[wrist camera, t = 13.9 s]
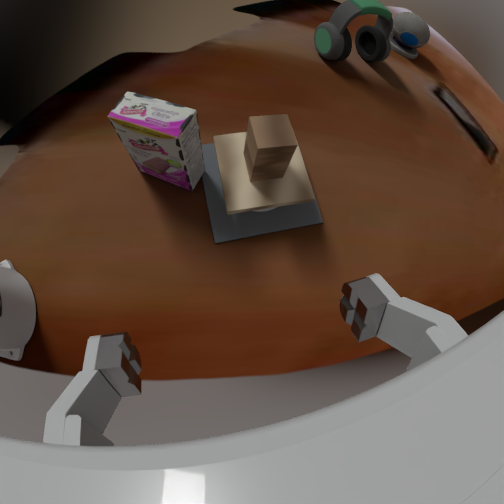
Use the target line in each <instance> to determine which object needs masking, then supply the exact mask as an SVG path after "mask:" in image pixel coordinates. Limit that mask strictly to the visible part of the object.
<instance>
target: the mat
mask: <svg viewBox="0 0 504 504" xmlns="http://www.w3.org/2000/svg"><path fill="white" fill-rule="evenodd" d="M201 146H202V153H203V159H204V166H205V171H204V173H203V174H202V179H203V184H204V190H205V195H206V200H207V205H208V210H209V216H210V221H211V226H212V230H213V235H214V240H215V244H216V243H221V242H226V241H231V240H236V239H241V238H246V237H251V236H256V235H262V234H267V233H272V232H277V231H282V230H287V229H293V228H298V227H303V226H308V225H314V224H319V223H323V221H322V218H321V214H320V211H319V208H318V204H317V201H316V198H315V199H314V200H313V202H307V203H300V204H293V205H286V206H279V207H277V208H275V209H273V210H270V211H266V212H254V211H247V212H240V213H234V214H228V215H227V210H226V205H225V200H224V195H223V189H222V184H221V179H220V174H219V168H218V163H217V158H216V152H215V147H214V143H212V144H206V145H201ZM309 181H310V180H309ZM310 184H311V183H310ZM311 187H312V186H311ZM312 191H313V189H312ZM313 194H314V192H313ZM314 197H315V195H314Z"/></svg>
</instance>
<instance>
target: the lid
mask: <svg viewBox="0 0 504 504" xmlns="http://www.w3.org/2000/svg"><path fill="white" fill-rule="evenodd" d="M213 141H214V147H215V152H216V158H217V163H218V168H219V174H220V179H221V184H222V189H223V195H224V200H225V205H226V210H227V215H228V214H234V213H240V212H247V211H253V210H259V209H266V208H272V207H279V206H286V205H293V204H300V203H307V202H313V200H314V199H315V197H314V194H313V191H312V187H311V184H310V181H309V177H308V174H307V171H306V168H305V165H304V162H303V159H302V155H301V152H300V149H299V146H298V143H297V141H296V138H295V135H294V132H293V129H292V127H291V124H290V121H289V118H288V115H287V114H282V115H266V116H254V117H249V121H248V127H247V132H242V133H234V134H226V135H218V136H213Z"/></svg>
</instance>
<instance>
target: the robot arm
mask: <svg viewBox="0 0 504 504" xmlns="http://www.w3.org/2000/svg"><path fill="white" fill-rule="evenodd" d="M342 292H343V294H344V296H343V297H342V298H341V300H340V312H341V315H342V317H343V319H344V321H345V322H346V323H348V324H350V325H352V326H351V331H352V333H353V334H354V336H355V337H356V339H357V340H358V342H360V341H363V340H366V339H369V338H372V337H375V336H377V337H378V338H380V339H381V340H383V341H385V342H386V343H388V344H390V345H391V346H393V347H395V348H396V349H398V350H400V351H401V352H403V353H405V354H406V355H408V356H410V357H411V358H412V359H411V361H410V363H409V365H408V367H407V372H406V373H403V374H401V375H399V376H397V377H395V378H393V379H391V380H389V381H387V382H385V383H383V384H381V385H378V386H376V387H374V388H372V389H369V390H367V391H365V392H362V393H360V394H358V395H355V396H353V397H350V398H348V399H345V400H342V401H340V402H337V403H334V404H332V405H329V406H326V407H324V408H321V409H318V410H315V411H312V412H309V413H306V414H302V415H299V416H296V417H293V418H289V419H286V420H283V421H279V422H276V423H272V424H268V425H264V426H260V427H256V428H252V429H248V430H243V431H238V432H234V433H229V434H224V435H218V436H213V437H208V438H202V439H194V440H187V441H179V442H171V443H161V444H149V445H133V446H114V444H113V443H112V442H111V441H110V440H109V439H107V438H106V437H105V436H103V435H102V434H103V432H104V430H105V428H106V426H107V424H108V422H109V421H110V419H111V417H112V415H113V413H114V411H115V409H116V407H117V406H118V404H119V402H120V400H121V397H125V396H133V395H140V394H141V378H140V377H139V375H138V374H139V372H140V371H141V359H140V355H139V352H138V350H137V348H136V346H134V345H133V344H131V337H130V336H129V334H128V332H120V333H112V334H104V335H99V336H90V338H89V339H88V343H87V348H86V353H85V358H84V364H83V370H82V371H81V372H78V374H77V375H76V376H75V377H74V379H73V380H72V381H71V383H70V384H69V385H68V386H67V388H66V389H65V390H64V391H63V393H62V394H61V395H60V397H59V398H58V399H57V400H56V402H55V403H54V405H53V406H52V407H51V408H50V410H49V411H48V412H47V414H46V422H45V429H44V437H43V438H44V439H43V443H42V442H34V441H27V440H20V439H14V438H9V437H4V436H0V504H504V311H502V312H501V313H500V314H498V315H497V316H496V317H495V318H493V319H492V320H490V321H489V322H488V323H486V324H485V325H484V326H482V327H481V328H479V329H478V330H476V331H475V332H473V333H472V334H471V335H469V336H468V335H467V334H466V332H465V331H464V330H463V329H462V328H461V327H460V326H459V324H458V323H457V322H456V321H455V320H454V319H453V318H452V317H451V316H450V315H447V314H445V313H443V312H440V311H438V310H435V309H433V308H430V307H428V306H425V305H423V304H420V303H418V302H415V301H413V300H410V299H408V298H405V297H402V298H401V297H400V296H399V295H398V294H397V293H396V292H395V291H394V290H393V289H392V287H391V286H390V285H389V284H388V283H387V282H386V281H385V280H384V279H383V278H382V276H381V275H379V274H377V273H376V274H373V275H370V276H367V277H363V278H360V279H357V280H353V281H350V282H346V283H344V285H343V286H342ZM35 321H36V305H35V299H34V295H33V292H32V289H31V287H30V285H29V283H28V282H27V280H26V279H25V278H24V277H23V276H22V275H21V274H19V273H18V272H17V271H16V270H15V269H14V267H13V265H12V263H11V262H10V261H9V260H4V261H2V262H1V263H0V356H1V357H4V358H8V359H12V360H18V361H19V360H21V358H22V355H23V351H24V347H25V345H26V344H27V342H28V341H29V339H30V338H31V336H32V333H33V330H34V327H35ZM12 353H13V354H12Z"/></svg>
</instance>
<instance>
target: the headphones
mask: <svg viewBox="0 0 504 504" xmlns="http://www.w3.org/2000/svg"><path fill="white" fill-rule="evenodd" d="M365 14H375V15H378V19H377V23H376V25H375V27H374V26H369V25H366V26H363V27H361V28H360V29H359V30H358V31H357V34H356V38H355V44H356V48H357V51H358V53H359V55H360V56H361V57H362V58H363V59H364V60H366V61H368V62H377V61H383V60H385V59H386V58H387V57H388V56H389V54H390V50H391V43H390V40H389V36H390V34H391V31H392V28H393V19H392V13H391V12H390V11H389V10H388V9H387V8H386V7H384V6H383V5H382V4H381V3H380V2H378V1H376V0H347V1H345V2H343V3H342V4H341V5H340V6H339V7H338V8H337V9H336V10H335V11H334V13H333V14H332V16H331V18H330V20H329V22H325V23H321V24H320V25H319V26H318V27H317V28H316V31H315V35H314V42H315V46H316V49H317V51H318V53H319V54H320V55H321V56H322V57H323V58H325V59H328V60H334V61H342V60H344V59H346V58H347V57H348V56H349V54H350V52H351V48H352V40H351V35H350V33H349V31H348V29H347V28H346V27H347V26H348V24H349V23H350V22H351V21H352V20H353V19H354V18H356V17H357V16H359V15H365Z"/></svg>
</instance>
